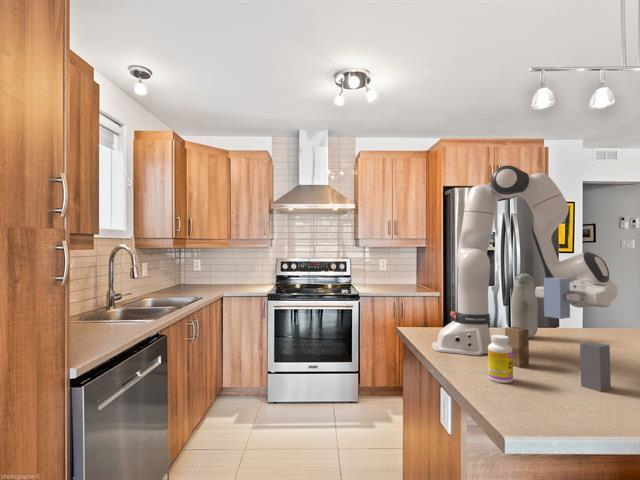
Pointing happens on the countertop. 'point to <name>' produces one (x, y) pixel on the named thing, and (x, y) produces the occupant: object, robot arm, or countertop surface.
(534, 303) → the grey-green tall rounded cylinder
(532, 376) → the countertop surface
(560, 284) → the slate-blue block
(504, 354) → the supplement bottle
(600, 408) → the countertop surface
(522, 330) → the walnut block
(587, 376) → the charcoal block
